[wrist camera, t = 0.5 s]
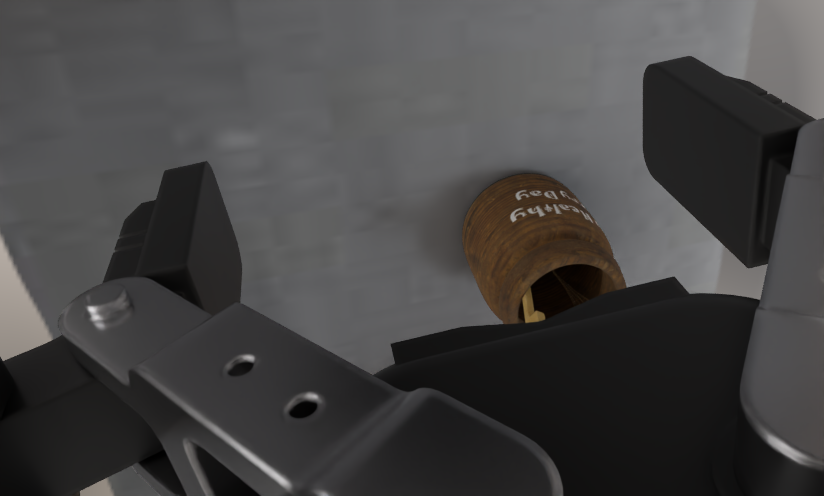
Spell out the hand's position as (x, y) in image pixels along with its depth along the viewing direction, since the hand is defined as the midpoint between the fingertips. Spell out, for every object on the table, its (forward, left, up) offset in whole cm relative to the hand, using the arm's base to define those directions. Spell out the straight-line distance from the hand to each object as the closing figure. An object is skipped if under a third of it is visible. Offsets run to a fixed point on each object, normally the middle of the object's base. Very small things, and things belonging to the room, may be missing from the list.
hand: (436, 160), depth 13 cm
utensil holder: (+13, +6, -18) cm, 23 cm away
